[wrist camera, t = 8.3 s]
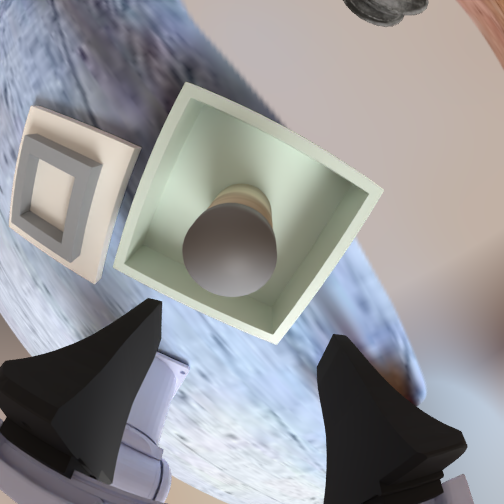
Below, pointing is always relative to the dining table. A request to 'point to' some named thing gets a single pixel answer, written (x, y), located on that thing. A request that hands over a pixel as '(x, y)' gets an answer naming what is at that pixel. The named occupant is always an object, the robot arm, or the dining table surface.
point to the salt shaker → (385, 10)
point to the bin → (242, 172)
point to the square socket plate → (69, 189)
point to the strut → (232, 243)
